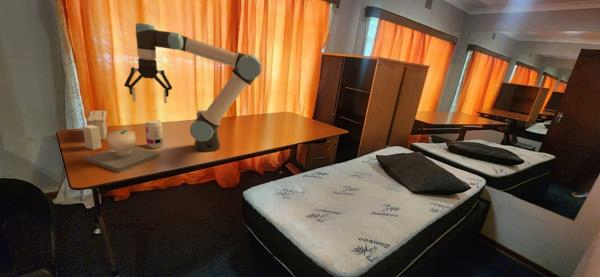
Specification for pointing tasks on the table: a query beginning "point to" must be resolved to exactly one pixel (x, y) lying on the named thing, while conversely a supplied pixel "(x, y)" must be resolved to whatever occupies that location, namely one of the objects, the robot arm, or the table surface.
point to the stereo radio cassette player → (98, 122)
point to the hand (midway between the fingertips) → (150, 102)
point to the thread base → (121, 158)
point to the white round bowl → (121, 140)
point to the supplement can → (154, 133)
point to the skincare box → (92, 137)
